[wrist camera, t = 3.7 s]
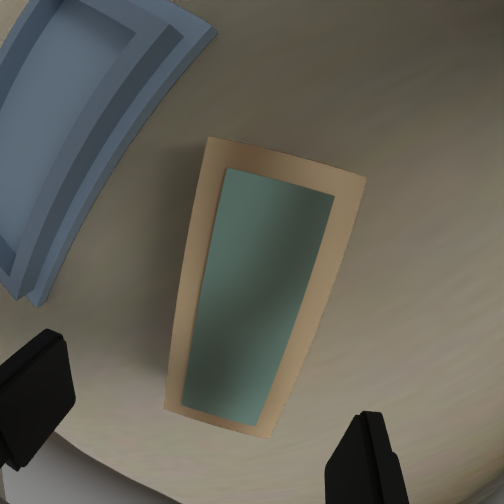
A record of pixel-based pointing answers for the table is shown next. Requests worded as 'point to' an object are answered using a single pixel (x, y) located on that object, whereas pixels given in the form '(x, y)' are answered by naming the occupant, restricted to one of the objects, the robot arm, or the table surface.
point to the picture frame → (255, 281)
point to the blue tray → (76, 116)
